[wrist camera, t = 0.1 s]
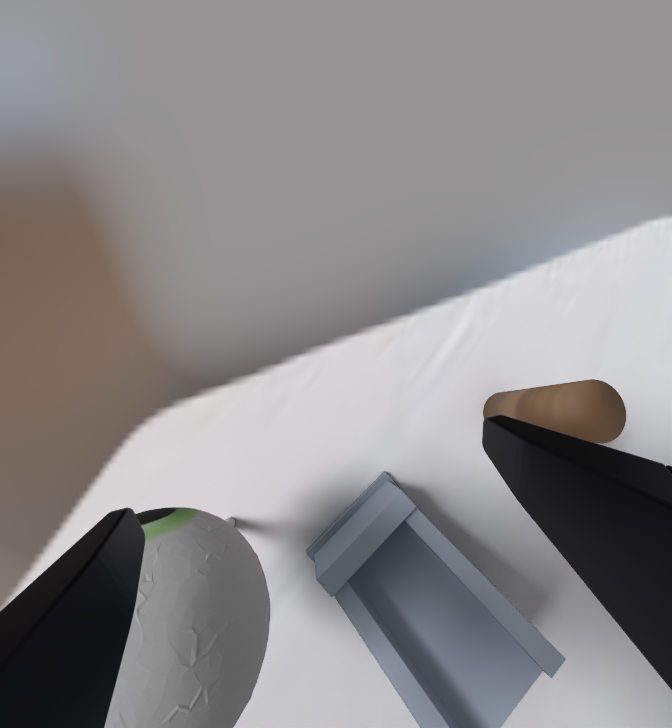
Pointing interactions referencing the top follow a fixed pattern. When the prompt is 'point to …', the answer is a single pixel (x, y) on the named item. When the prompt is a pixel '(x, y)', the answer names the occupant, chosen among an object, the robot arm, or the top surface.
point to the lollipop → (192, 625)
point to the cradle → (429, 613)
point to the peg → (565, 409)
